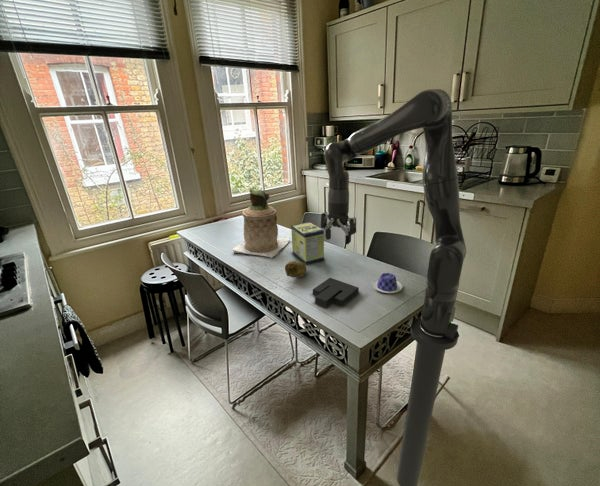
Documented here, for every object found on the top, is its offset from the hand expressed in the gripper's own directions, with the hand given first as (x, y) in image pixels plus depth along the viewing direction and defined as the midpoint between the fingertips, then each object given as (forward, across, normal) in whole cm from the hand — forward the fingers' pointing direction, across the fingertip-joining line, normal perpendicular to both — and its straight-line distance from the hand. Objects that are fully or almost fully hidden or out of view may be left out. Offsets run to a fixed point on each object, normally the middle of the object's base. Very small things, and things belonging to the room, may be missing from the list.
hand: (337, 241), depth 121 cm
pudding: (+22, -16, -14) cm, 30 cm away
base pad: (+21, -1, +3) cm, 22 cm away
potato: (+22, +21, +1) cm, 30 cm away
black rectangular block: (+21, -1, +9) cm, 23 cm away
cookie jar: (+22, +57, -14) cm, 63 cm away
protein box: (+22, +29, -18) cm, 41 cm away
